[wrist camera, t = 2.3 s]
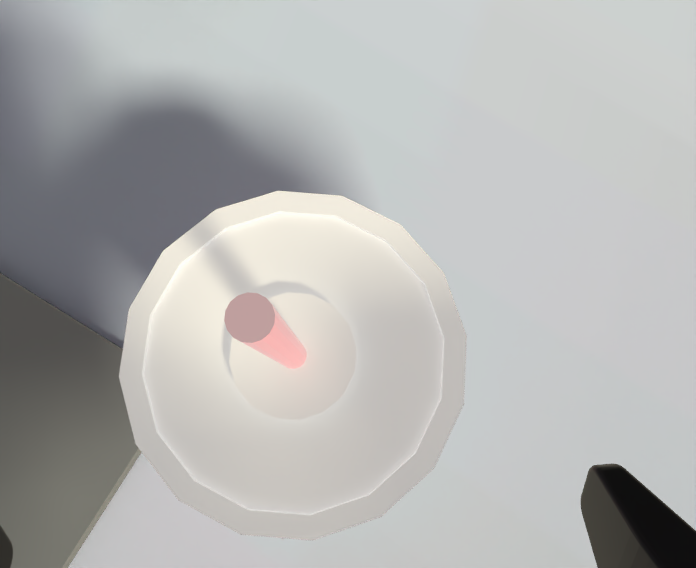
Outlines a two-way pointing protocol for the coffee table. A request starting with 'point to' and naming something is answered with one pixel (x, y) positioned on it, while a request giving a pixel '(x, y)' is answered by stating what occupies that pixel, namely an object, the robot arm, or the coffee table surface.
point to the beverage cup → (293, 365)
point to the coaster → (56, 429)
